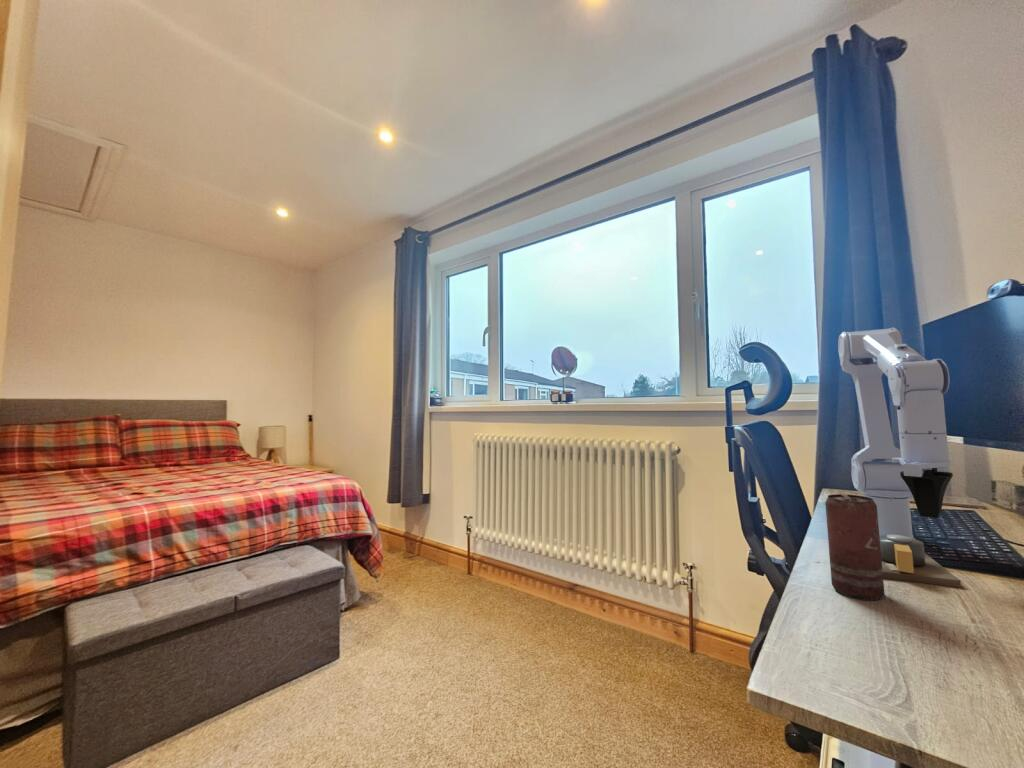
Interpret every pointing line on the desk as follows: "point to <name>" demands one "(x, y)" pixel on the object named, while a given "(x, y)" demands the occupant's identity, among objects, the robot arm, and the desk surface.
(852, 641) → the desk surface
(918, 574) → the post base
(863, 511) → the can
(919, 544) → the toy saucepan
